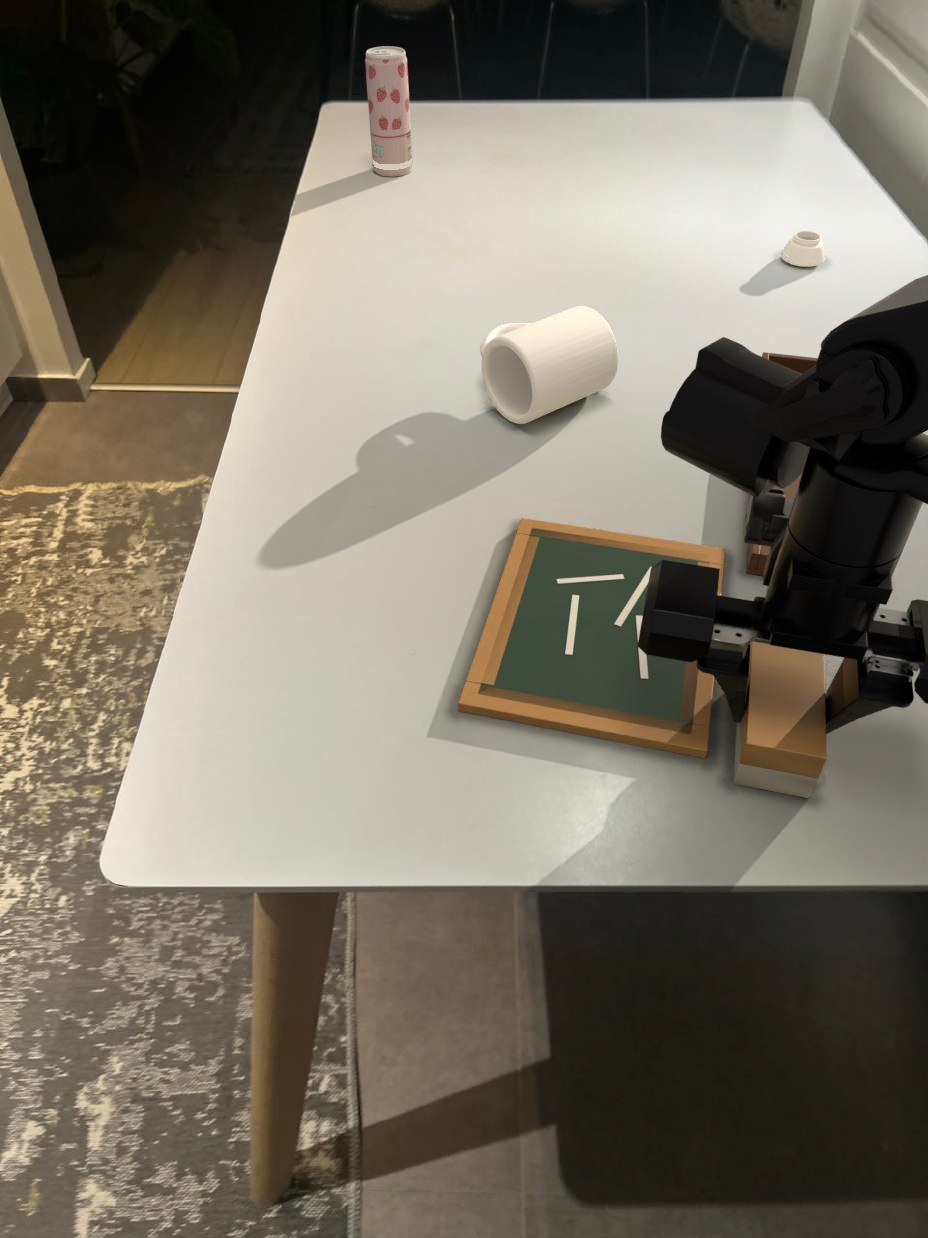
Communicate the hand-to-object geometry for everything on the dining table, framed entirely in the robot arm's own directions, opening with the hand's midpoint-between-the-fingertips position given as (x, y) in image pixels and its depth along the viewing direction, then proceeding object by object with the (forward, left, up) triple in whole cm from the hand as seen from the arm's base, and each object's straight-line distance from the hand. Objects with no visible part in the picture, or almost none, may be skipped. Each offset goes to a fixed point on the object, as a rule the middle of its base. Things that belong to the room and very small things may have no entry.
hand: (776, 724), depth 58 cm
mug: (+23, -37, -1) cm, 44 cm away
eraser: (0, 0, -1) cm, 1 cm away
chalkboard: (+12, -7, -1) cm, 14 cm away
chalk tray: (-1, -31, -1) cm, 31 cm away
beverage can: (+55, -92, -1) cm, 107 cm away
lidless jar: (-2, -74, -1) cm, 74 cm away
